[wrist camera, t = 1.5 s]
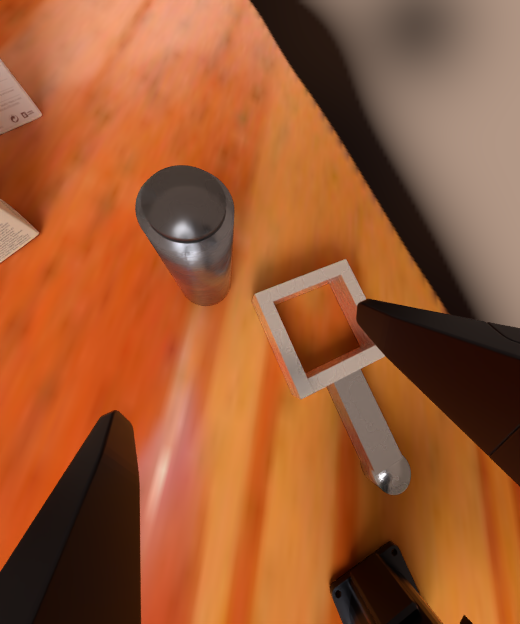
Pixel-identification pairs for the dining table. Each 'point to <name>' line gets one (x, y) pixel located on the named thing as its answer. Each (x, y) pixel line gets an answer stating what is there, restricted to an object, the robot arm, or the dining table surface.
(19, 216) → the box
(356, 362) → the square frame with handle
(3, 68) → the supplement box
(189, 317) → the dining table surface
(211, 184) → the dark grey metal cylinder
